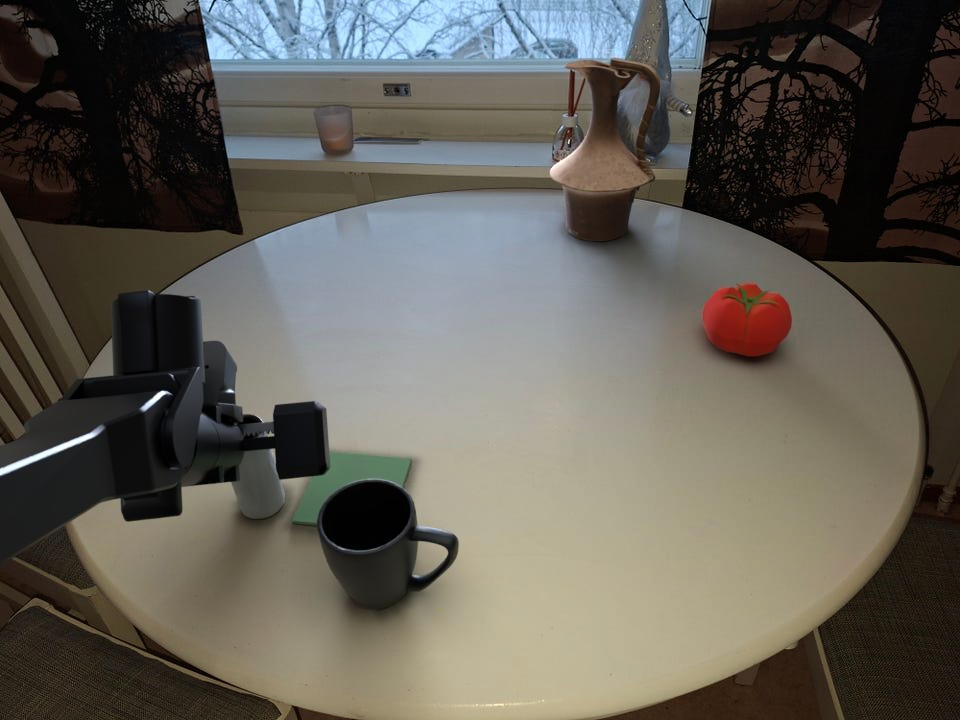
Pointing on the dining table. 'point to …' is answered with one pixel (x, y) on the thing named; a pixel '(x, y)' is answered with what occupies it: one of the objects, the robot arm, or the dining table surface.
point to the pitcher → (606, 155)
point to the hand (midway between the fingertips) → (241, 450)
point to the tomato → (746, 319)
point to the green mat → (348, 479)
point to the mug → (377, 542)
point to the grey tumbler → (258, 480)
